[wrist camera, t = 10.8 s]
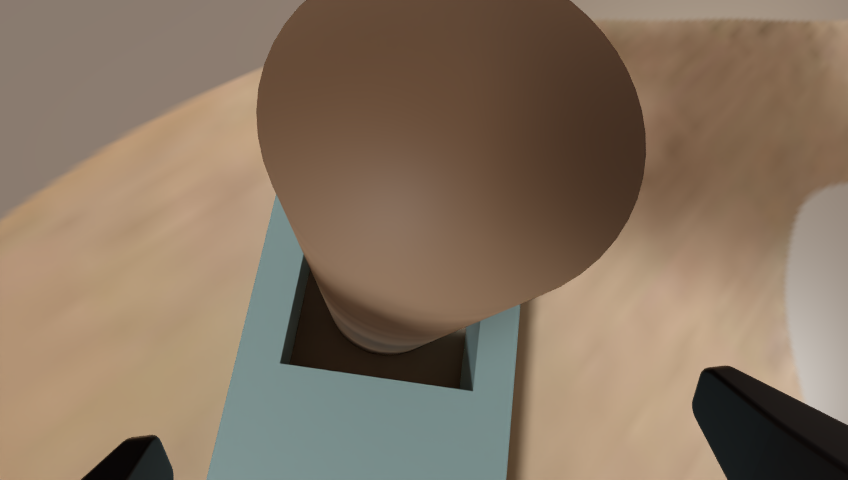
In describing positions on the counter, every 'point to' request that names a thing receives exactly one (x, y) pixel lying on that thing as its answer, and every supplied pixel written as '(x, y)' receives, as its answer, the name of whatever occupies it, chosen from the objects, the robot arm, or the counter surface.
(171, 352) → the counter surface
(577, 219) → the pepper mill
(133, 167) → the counter surface
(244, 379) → the socket stand
